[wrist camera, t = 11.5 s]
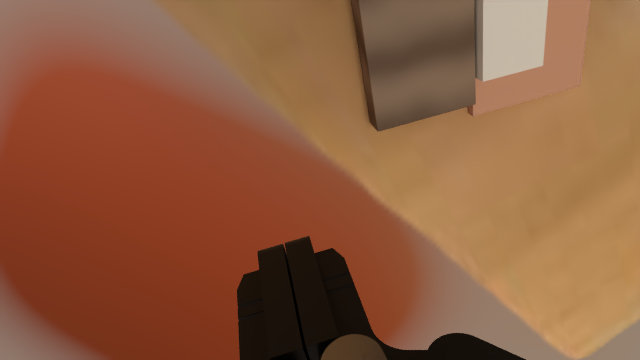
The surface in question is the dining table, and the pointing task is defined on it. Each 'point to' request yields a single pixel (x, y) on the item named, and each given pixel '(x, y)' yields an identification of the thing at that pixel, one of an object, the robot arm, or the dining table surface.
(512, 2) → the cream tile
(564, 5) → the terracotta mat
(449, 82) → the walnut deck
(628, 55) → the dining table surface
